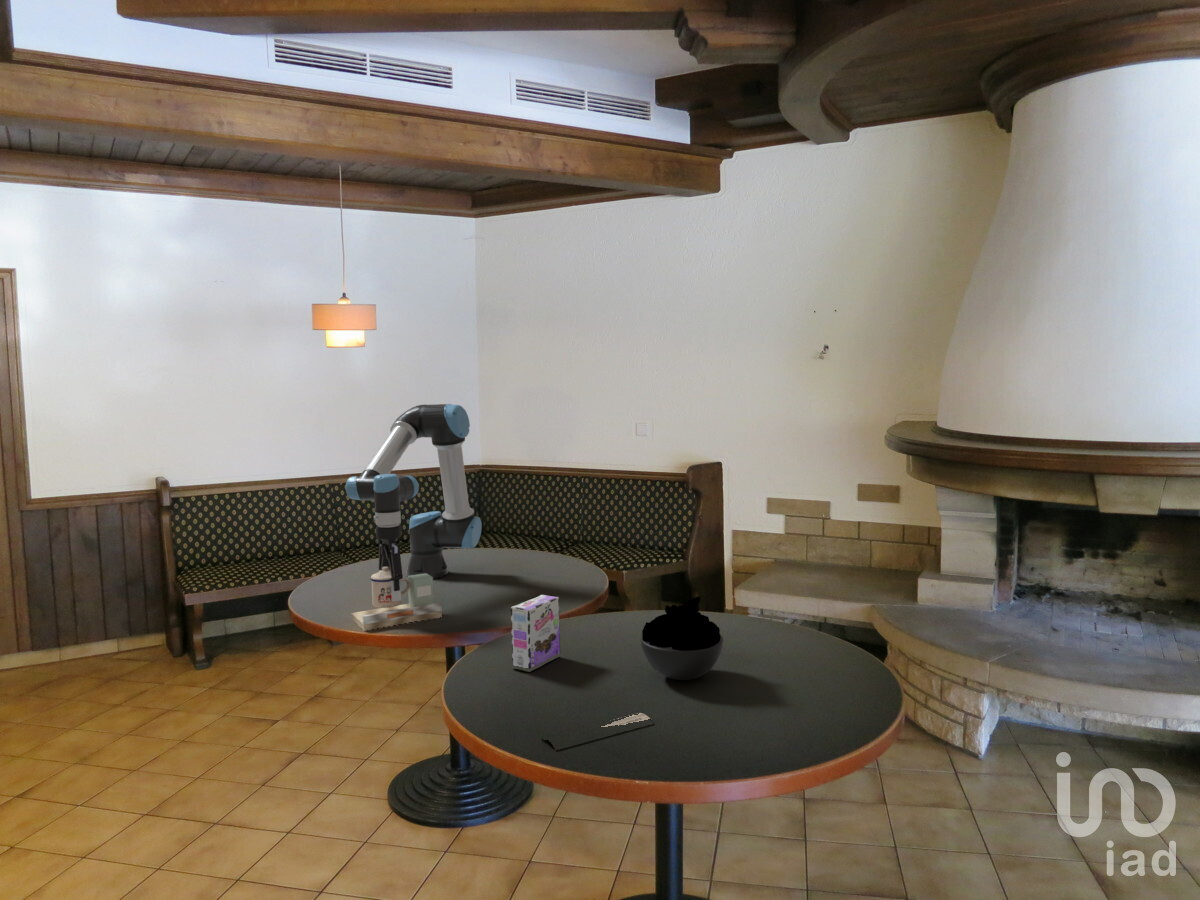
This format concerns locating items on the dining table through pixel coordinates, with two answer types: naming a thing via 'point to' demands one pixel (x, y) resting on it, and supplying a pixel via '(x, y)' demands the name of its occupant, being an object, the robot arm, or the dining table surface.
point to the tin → (420, 590)
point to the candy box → (535, 631)
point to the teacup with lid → (384, 589)
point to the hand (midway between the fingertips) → (391, 597)
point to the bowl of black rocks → (682, 642)
